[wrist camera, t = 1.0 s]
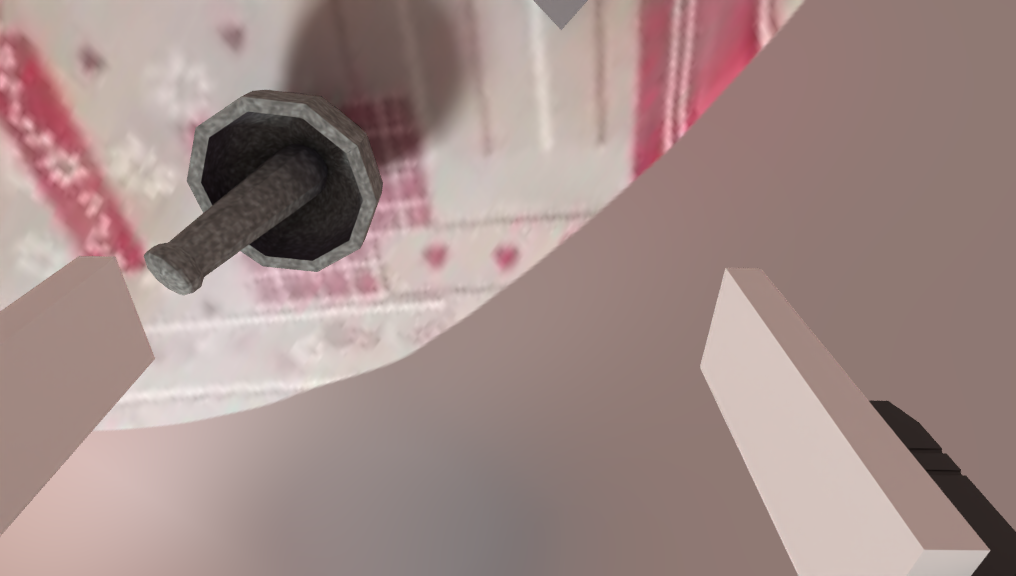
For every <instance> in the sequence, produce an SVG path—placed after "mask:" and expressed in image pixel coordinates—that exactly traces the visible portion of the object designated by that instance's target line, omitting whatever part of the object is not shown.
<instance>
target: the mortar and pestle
mask: <svg viewBox="0 0 1016 576" xmlns="http://www.w3.org/2000/svg"><path fill="white" fill-rule="evenodd" d="M187 182H188V184H189V186H190V188H191V190H192V192H193V194H194V196H195V198H196V200H197V202H198V204H199V205H200V207H201V209H202V211H203V214H202V215H201V216H199V217H198V218H197V219H196V220H195V221H193V222H192V223H191V224H190V225H189V226H188V227H186V228H185V229H184V230H183V231H182V232H180V233H179V234H178V235H177V236H176V237H174V238H173V239H172V240H171V241H170V242H168V243H163V244H158V245H156V246H154V247H153V248H151V249H150V250H149V251H147V252H146V253H145V255H144V258H145V261H146V264H147V267H148V269H149V270H150V272H151V273H152V274H153V275H154V276H155V278H156V279H157V280H158V281H159V282H161V283H162V284H163V285H164V286H165V287H167V288H168V289H170V290H172V291H174V292H176V293H178V294H181V295H187V294H190V293H194V292H195V291H196V290H197V289H199V288H200V287H201V286H202V282H203V279H204V277H205V276H206V275H207V274H209V273H210V272H212V271H213V270H214V269H216V268H217V267H219V266H220V265H221V264H223V263H224V262H225V261H227V260H228V259H230V258H231V257H232V256H234V255H235V254H237V253H238V252H239V251H241V252H243V253H244V254H246V255H247V256H249V257H250V258H252V259H253V260H254V261H256V262H257V263H259V264H260V265H262V266H265V267H275V268H285V269H294V270H304V271H314V272H318V271H320V270H322V269H323V268H325V267H327V266H329V265H331V264H333V263H334V262H336V261H338V260H340V259H342V258H344V257H345V256H347V255H349V254H351V253H353V252H355V251H356V250H358V249H360V248H361V246H362V244H363V242H364V240H365V238H366V235H367V233H368V230H369V227H370V224H371V221H372V219H373V216H374V213H375V210H376V207H377V205H378V202H379V199H380V196H381V193H382V186H383V182H382V179H381V176H380V173H379V170H378V167H377V164H376V161H375V158H374V155H373V152H372V149H371V146H370V143H369V140H368V137H367V134H366V133H365V132H364V131H363V130H362V129H361V128H360V127H359V126H358V125H357V124H355V123H354V122H353V121H352V120H351V119H349V118H348V117H347V116H346V115H344V114H343V113H342V112H341V111H340V110H338V109H337V108H336V107H335V106H333V105H331V104H330V103H329V102H328V101H327V100H325V99H324V98H323V97H322V96H314V95H306V94H297V93H289V92H281V91H272V90H258V91H252V92H250V93H248V94H246V95H244V96H242V97H240V98H239V99H237V100H236V101H234V102H233V103H231V104H230V105H228V106H227V107H225V108H224V109H223V110H221V111H220V112H218V113H217V114H215V115H214V116H212V117H211V118H209V119H208V120H206V121H205V122H203V123H202V124H200V125H199V126H198V127H196V129H195V135H194V141H193V147H192V153H191V159H190V165H189V171H188V177H187Z"/></svg>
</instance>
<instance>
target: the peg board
mask: <svg viewBox="0 0 1016 576" xmlns="http://www.w3.org/2000/svg"><path fill="white" fill-rule="evenodd" d="M534 1H535V2H536V4H537V5H538V6H539V7H540V8H541V9H542V10H543V11H544V12H545V13H546V14H547V15H548V16H549V17H550V19H551V20H552V21H553V22H554V23H555V24H556V25H557V26H558V27H559V28H560V29H561V30H562V29H563V28H564V26H565V25H566V24H567V23H568V22H569V21H570V20H571V19H572V17H573V16H574V15H575V14H576V13H577V12H578V11H579V10H580V8H581V7H582V6H583V5H584V4H585V3H586V2H587V1H588V0H534Z"/></svg>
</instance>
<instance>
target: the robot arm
mask: <svg viewBox="0 0 1016 576" xmlns="http://www.w3.org/2000/svg"><path fill="white" fill-rule="evenodd" d="M154 359H155V357H154V355H153V352H152V350H151V347H150V345H149V342H148V339H147V337H146V334H145V332H144V329H143V327H142V324H141V321H140V319H139V316H138V314H137V311H136V309H135V306H134V303H133V301H132V298H131V296H130V293H129V291H128V288H127V285H126V283H125V280H124V278H123V275H122V273H121V270H120V267H119V265H118V262H117V260H116V257H100V256H79V257H77V258H76V259H74V260H73V261H71V262H70V263H69V264H67V265H66V266H64V267H63V268H62V269H60V270H59V271H57V272H56V273H54V274H53V275H52V276H50V277H49V278H47V279H46V280H44V281H43V282H42V283H40V284H39V285H37V286H36V287H35V288H33V289H32V290H30V291H29V292H27V293H26V294H25V295H23V296H22V297H20V298H19V299H17V300H16V301H15V302H13V303H12V304H10V305H9V306H8V307H6V308H5V309H3V310H2V311H0V536H1V535H2V534H3V533H4V532H5V530H6V529H7V528H8V527H9V526H10V525H11V523H12V522H13V521H14V520H15V519H16V518H17V516H18V515H19V514H20V513H21V512H22V511H23V510H24V509H25V507H26V506H27V505H28V504H29V503H30V502H31V501H32V499H33V498H34V497H35V496H36V494H38V492H39V491H40V490H41V489H42V488H43V486H45V484H46V483H47V482H48V481H49V480H50V478H52V476H53V475H54V474H55V473H56V472H57V471H58V469H59V468H60V467H61V466H62V465H63V464H64V463H65V461H66V460H67V459H68V458H69V457H70V456H71V454H72V453H73V452H74V451H75V450H76V449H77V448H78V447H79V445H80V444H81V443H82V442H83V441H84V440H85V438H86V437H87V436H88V435H89V434H90V433H91V432H92V430H93V429H94V428H95V427H96V426H97V425H98V424H99V422H100V421H101V420H102V419H103V418H104V417H105V416H106V414H107V413H108V412H109V411H110V410H111V409H112V408H113V406H114V405H115V404H116V403H117V402H118V401H119V399H120V398H121V397H122V396H123V395H124V394H125V393H126V391H127V390H128V389H129V388H130V387H131V386H132V385H133V383H134V382H135V381H136V380H137V379H138V378H139V377H140V375H141V374H142V373H143V372H144V371H145V370H146V368H147V367H148V366H149V365H150V364H151V363H152V362H153V360H154ZM700 368H701V370H702V372H703V374H704V377H705V379H706V381H707V383H708V385H709V387H710V389H711V391H712V393H713V396H714V398H715V400H716V402H717V404H718V406H719V408H720V410H721V413H722V415H723V417H724V419H725V421H726V423H727V425H728V427H729V429H730V432H731V434H732V436H733V438H734V440H735V442H736V444H737V446H738V449H739V451H740V453H741V455H742V457H743V459H744V461H745V463H746V466H747V468H748V470H749V472H750V474H751V476H752V478H753V480H754V483H755V484H756V487H757V489H758V491H759V493H760V495H761V497H762V500H763V502H764V504H765V506H766V508H767V510H768V512H769V514H770V516H771V519H772V521H773V523H774V525H775V527H776V529H777V531H778V533H779V536H780V538H781V540H782V542H783V544H784V546H785V548H786V550H787V553H788V554H789V557H790V559H791V561H792V563H793V565H794V567H795V569H796V571H797V574H798V576H1016V532H1015V531H1014V529H1013V528H1012V527H1011V526H1010V525H1009V524H1008V523H1007V522H1006V520H1005V519H1004V518H1003V517H1002V516H1001V515H1000V514H999V512H998V511H997V510H996V509H995V508H994V507H993V506H992V505H991V504H990V502H989V501H988V500H987V499H986V498H985V497H984V495H982V493H981V492H980V491H979V490H978V489H977V488H976V486H975V485H974V484H973V483H972V482H971V481H970V480H969V479H968V477H967V476H962V475H961V469H960V468H959V467H958V466H957V465H956V464H955V463H954V462H953V461H952V459H951V458H950V457H949V456H948V455H947V454H943V453H942V448H941V447H940V446H939V445H938V443H937V442H936V441H934V439H933V438H932V437H931V436H930V434H929V433H928V432H927V431H926V430H925V429H924V428H923V427H922V426H921V424H920V423H919V422H917V421H916V420H914V419H913V418H912V417H910V416H909V415H907V414H906V413H905V412H903V411H902V410H900V409H899V408H897V407H896V406H894V405H893V404H891V403H890V402H889V401H868V400H867V398H866V397H865V396H864V395H863V393H862V392H861V391H860V390H859V389H858V387H857V386H856V385H855V384H854V382H853V381H852V380H851V379H850V377H849V376H848V375H847V374H846V373H845V371H844V370H843V369H842V368H841V367H840V365H839V364H838V363H837V361H836V360H835V359H834V358H833V357H832V355H831V354H830V353H829V352H828V350H827V349H826V348H825V347H824V346H823V344H822V343H821V342H820V341H819V339H818V338H817V337H816V336H815V334H814V333H813V332H812V331H811V330H810V328H809V327H808V326H807V325H806V324H805V322H804V321H803V320H802V319H801V317H800V316H799V315H798V314H797V312H795V310H794V309H793V307H792V306H791V305H790V304H789V303H788V301H787V300H786V299H785V298H784V296H783V295H782V294H781V293H780V292H779V291H778V289H777V288H776V287H775V285H774V284H773V283H772V282H771V280H770V279H769V278H768V277H767V276H766V274H765V273H764V272H763V271H762V269H760V268H759V269H758V268H726V269H725V273H724V276H723V280H722V284H721V288H720V292H719V296H718V300H717V304H716V307H715V311H714V316H713V319H712V323H711V327H710V331H709V335H708V338H707V342H706V346H705V351H704V354H703V358H702V362H701V366H700Z"/></svg>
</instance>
